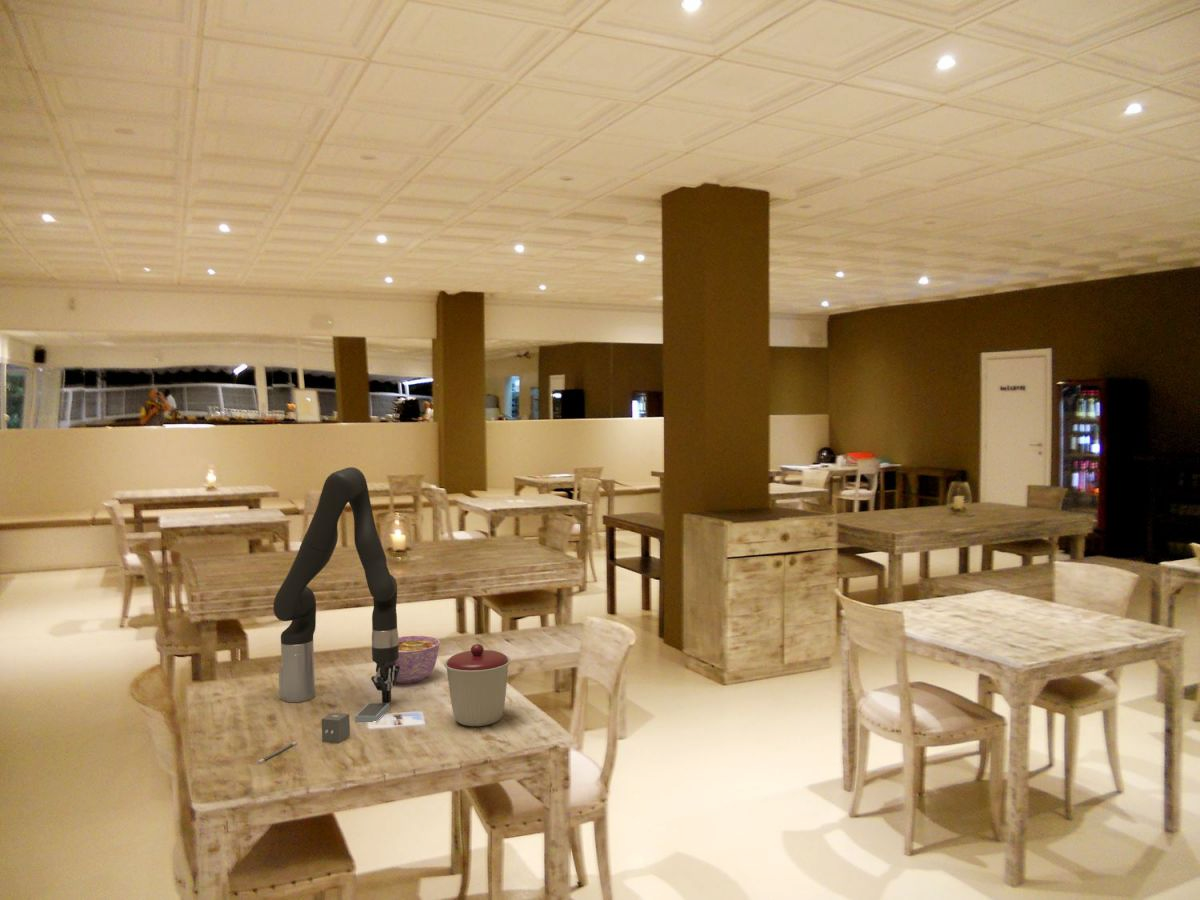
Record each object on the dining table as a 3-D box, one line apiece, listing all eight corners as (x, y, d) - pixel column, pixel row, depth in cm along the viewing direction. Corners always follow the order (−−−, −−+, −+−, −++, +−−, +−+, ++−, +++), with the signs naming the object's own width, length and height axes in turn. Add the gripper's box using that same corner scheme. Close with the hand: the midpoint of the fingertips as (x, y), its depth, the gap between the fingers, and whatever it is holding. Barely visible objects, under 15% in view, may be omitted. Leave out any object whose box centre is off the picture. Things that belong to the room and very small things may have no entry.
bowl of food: (373, 674, 280) (372, 639, 280) (435, 667, 287) (434, 633, 287) (380, 692, 261) (379, 654, 261) (446, 684, 269) (445, 647, 268)
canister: (525, 716, 238) (523, 641, 237) (481, 737, 223) (480, 657, 222) (476, 705, 248) (474, 633, 247) (431, 724, 233) (429, 647, 232)
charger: (320, 743, 221) (319, 719, 221) (333, 734, 227) (332, 712, 226) (337, 744, 220) (336, 721, 220) (349, 736, 225) (349, 713, 225)
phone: (355, 724, 236) (354, 715, 236) (368, 710, 247) (368, 702, 247) (376, 724, 235) (376, 716, 235) (389, 710, 246) (388, 702, 246)
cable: (260, 763, 208) (260, 760, 208) (258, 762, 209) (258, 760, 209) (296, 744, 220) (296, 741, 220) (294, 743, 221) (294, 741, 221)
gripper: (385, 650, 241) (387, 711, 241) (407, 638, 253) (409, 696, 254) (361, 649, 243) (363, 709, 243) (384, 637, 255) (386, 694, 256)
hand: (386, 702), depth 249 cm, fingers closed
